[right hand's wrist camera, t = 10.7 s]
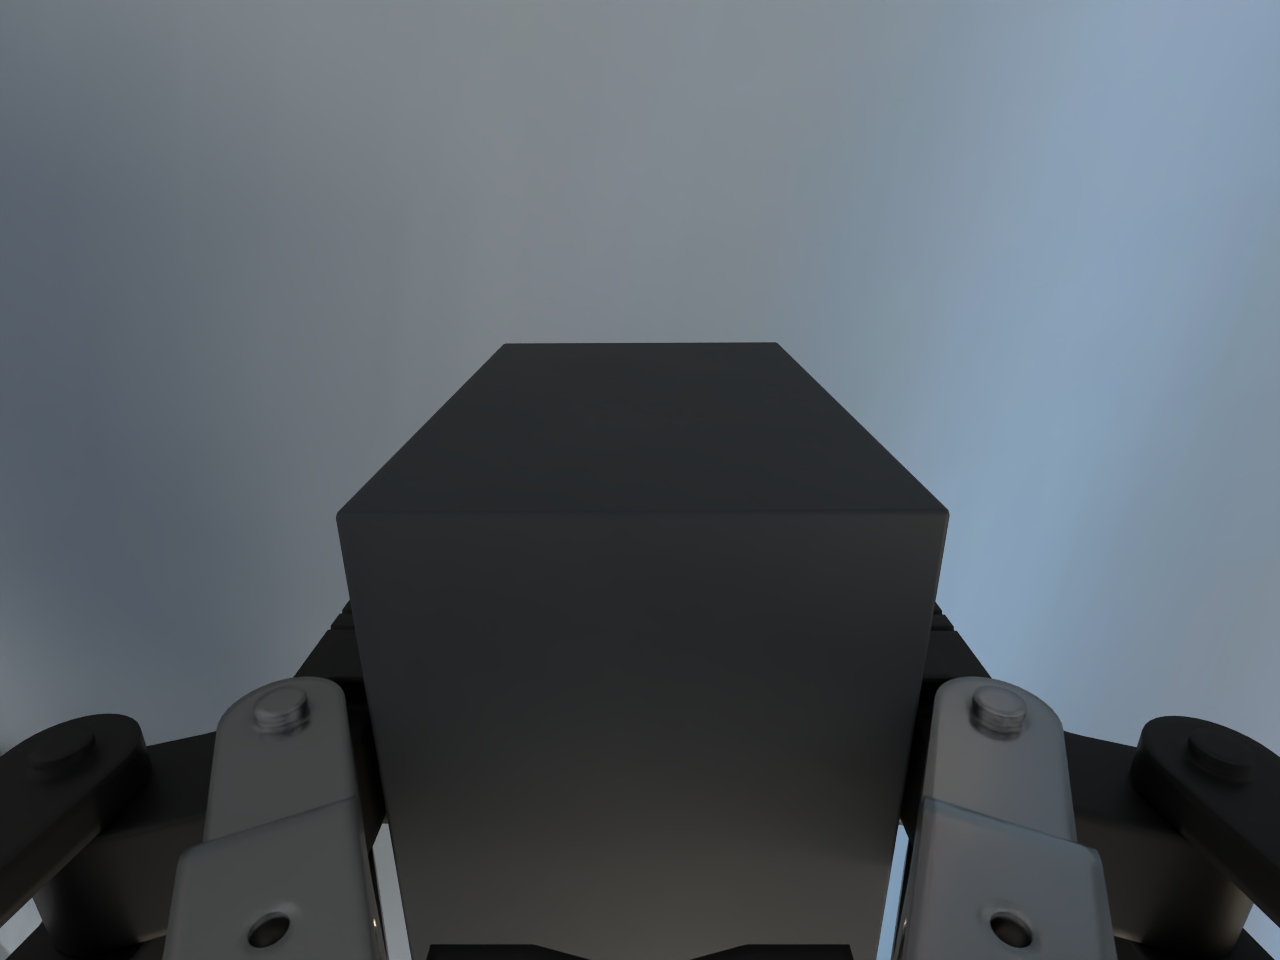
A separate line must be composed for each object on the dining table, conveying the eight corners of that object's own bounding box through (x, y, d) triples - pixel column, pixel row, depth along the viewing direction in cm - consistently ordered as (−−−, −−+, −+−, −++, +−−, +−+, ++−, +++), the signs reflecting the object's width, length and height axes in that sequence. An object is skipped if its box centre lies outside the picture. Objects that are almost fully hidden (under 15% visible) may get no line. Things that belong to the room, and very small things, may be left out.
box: (503, 343, 15) (331, 512, 7) (777, 341, 15) (953, 511, 7) (552, 1022, 23) (502, 1496, 15) (733, 1022, 23) (789, 1494, 15)
